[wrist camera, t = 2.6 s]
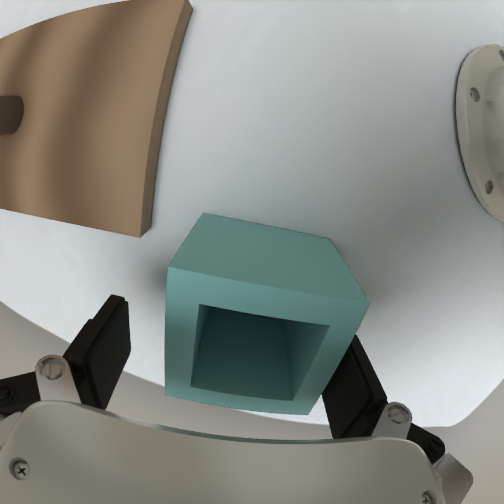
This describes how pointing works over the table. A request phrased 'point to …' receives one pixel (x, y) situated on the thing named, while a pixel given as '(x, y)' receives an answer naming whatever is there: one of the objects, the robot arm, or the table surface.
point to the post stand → (88, 112)
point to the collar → (254, 327)
